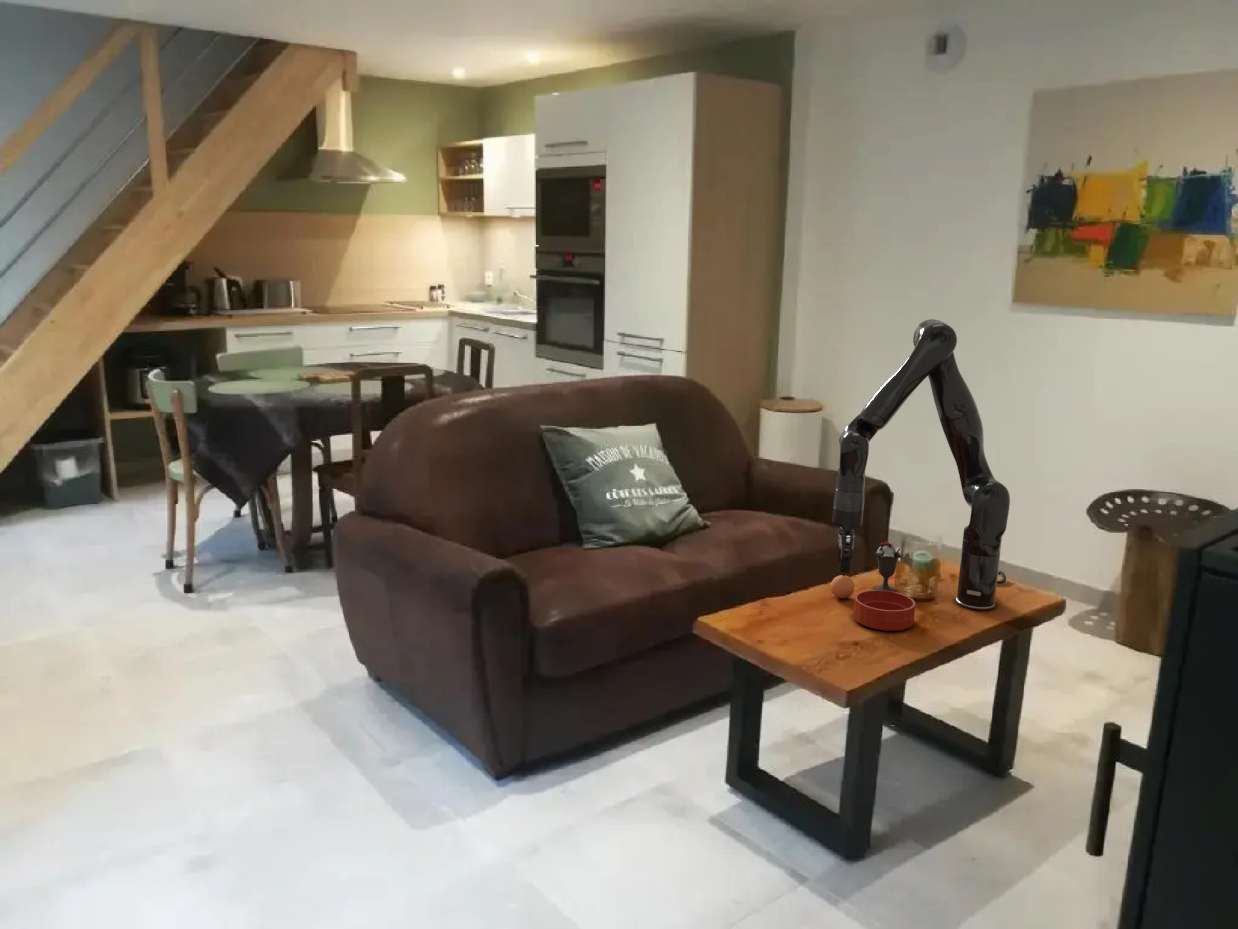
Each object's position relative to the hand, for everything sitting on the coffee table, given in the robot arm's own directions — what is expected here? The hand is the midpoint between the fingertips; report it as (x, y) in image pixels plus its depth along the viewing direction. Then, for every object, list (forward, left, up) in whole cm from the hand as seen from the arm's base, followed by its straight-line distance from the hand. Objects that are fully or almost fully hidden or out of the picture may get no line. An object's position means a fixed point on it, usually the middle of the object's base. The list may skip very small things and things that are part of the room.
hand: (843, 566), depth 250 cm
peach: (0, 0, -9) cm, 9 cm away
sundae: (-13, +6, -9) cm, 17 cm away
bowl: (+8, +15, -9) cm, 19 cm away
